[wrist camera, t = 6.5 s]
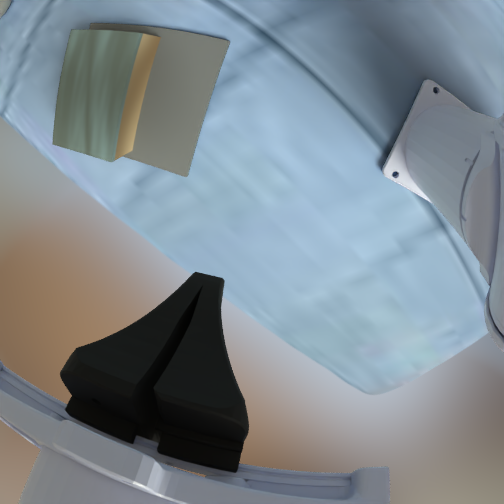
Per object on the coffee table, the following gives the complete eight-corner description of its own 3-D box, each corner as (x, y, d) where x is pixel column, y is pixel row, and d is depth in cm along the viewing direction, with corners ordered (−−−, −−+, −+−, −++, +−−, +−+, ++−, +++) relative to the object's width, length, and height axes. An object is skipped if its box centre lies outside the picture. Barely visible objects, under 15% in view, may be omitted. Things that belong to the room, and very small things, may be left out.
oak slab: (140, 32, 13) (71, 29, 12) (111, 162, 18) (52, 144, 17) (160, 37, 15) (95, 31, 15) (132, 150, 20) (75, 134, 20)
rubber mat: (230, 41, 16) (228, 41, 15) (187, 175, 21) (186, 177, 21) (93, 23, 15) (90, 23, 14) (71, 139, 21) (68, 140, 20)
